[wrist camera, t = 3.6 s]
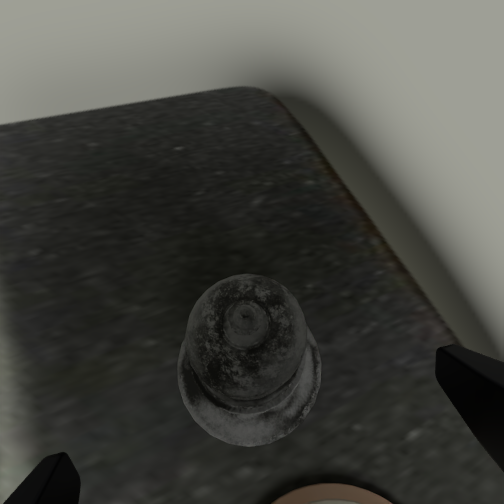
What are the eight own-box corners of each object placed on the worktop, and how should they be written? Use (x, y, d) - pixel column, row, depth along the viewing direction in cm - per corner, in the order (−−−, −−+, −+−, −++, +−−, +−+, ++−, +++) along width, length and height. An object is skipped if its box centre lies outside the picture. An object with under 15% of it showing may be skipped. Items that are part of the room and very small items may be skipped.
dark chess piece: (332, 372, 17) (472, 312, 6) (249, 468, 15) (241, 621, 5) (250, 292, 19) (246, 136, 8) (167, 371, 17) (17, 312, 6)
